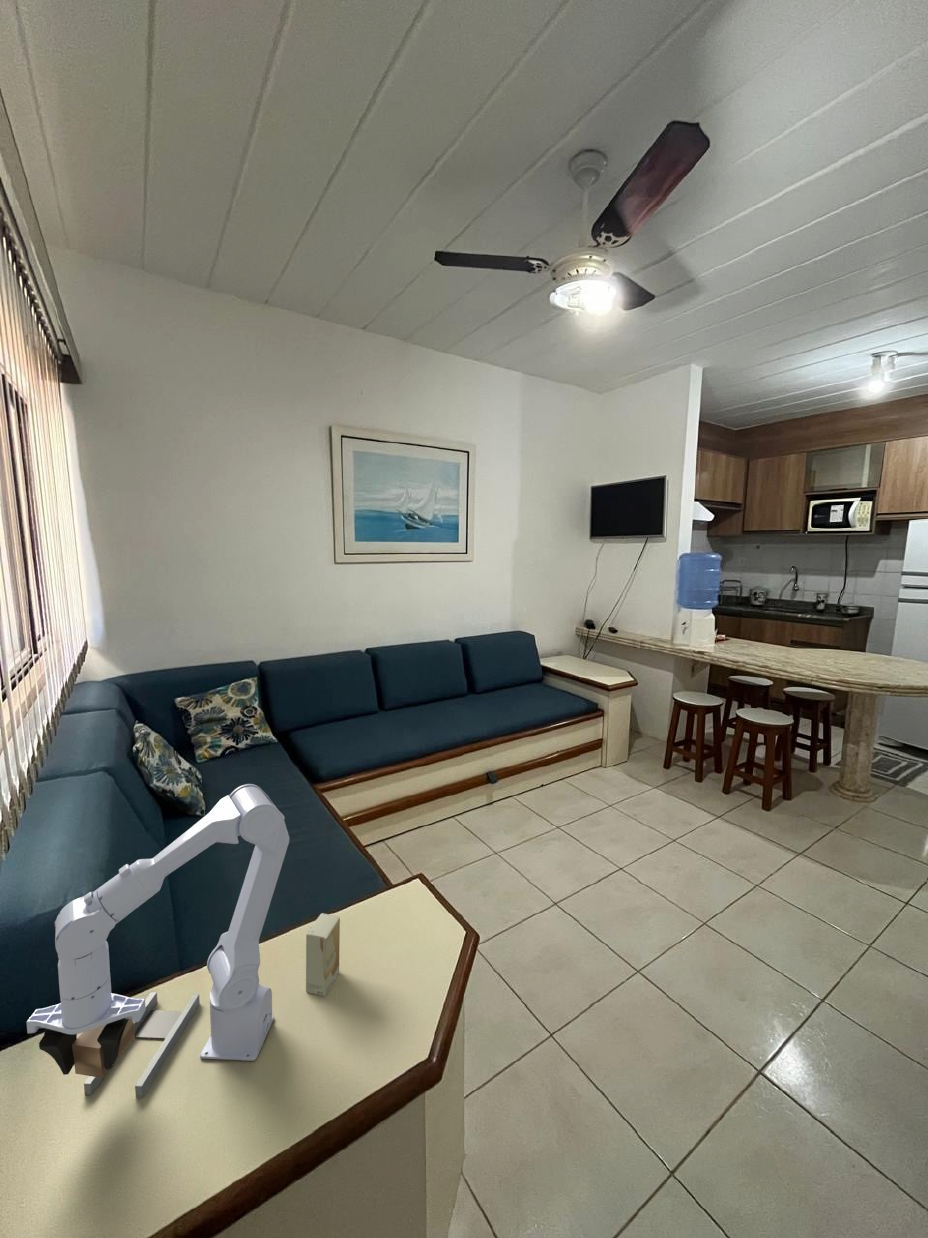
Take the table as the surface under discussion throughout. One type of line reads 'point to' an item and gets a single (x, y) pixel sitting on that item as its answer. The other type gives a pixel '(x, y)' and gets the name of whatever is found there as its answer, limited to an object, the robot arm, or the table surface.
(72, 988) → the robot arm
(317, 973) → the skincare box
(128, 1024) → the walnut block
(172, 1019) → the channel
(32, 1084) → the table surface
